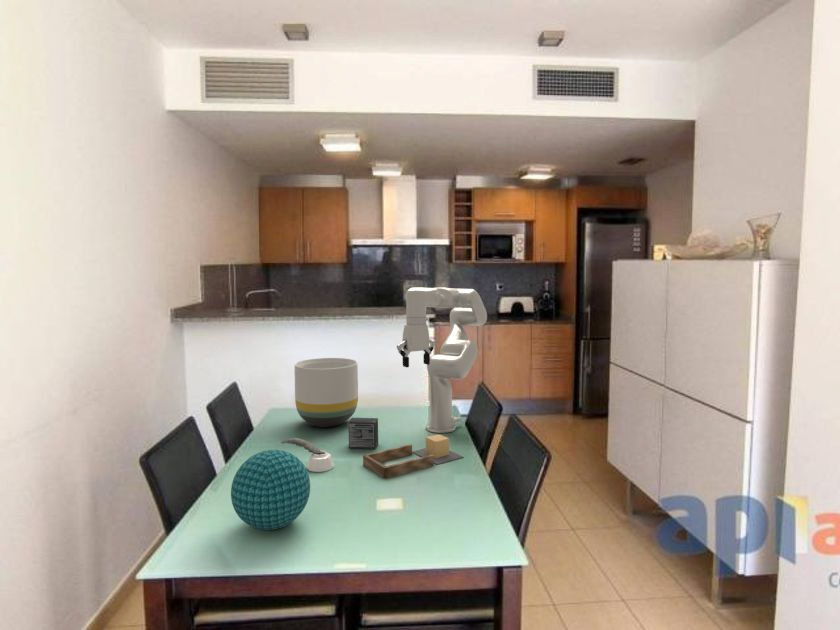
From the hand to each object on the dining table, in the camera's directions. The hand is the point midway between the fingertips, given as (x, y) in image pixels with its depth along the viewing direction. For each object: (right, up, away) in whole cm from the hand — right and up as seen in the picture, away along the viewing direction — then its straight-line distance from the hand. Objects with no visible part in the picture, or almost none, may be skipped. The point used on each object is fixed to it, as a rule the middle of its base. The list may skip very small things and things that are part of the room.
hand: (416, 365), depth 201 cm
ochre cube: (+8, -31, -11) cm, 34 cm away
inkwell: (-37, -33, -23) cm, 54 cm away
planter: (-39, -28, +26) cm, 55 cm away
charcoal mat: (+8, -31, -11) cm, 34 cm away
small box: (-20, -31, -2) cm, 37 cm away
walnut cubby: (-5, -32, -21) cm, 39 cm away
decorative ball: (-38, -36, -63) cm, 82 cm away
